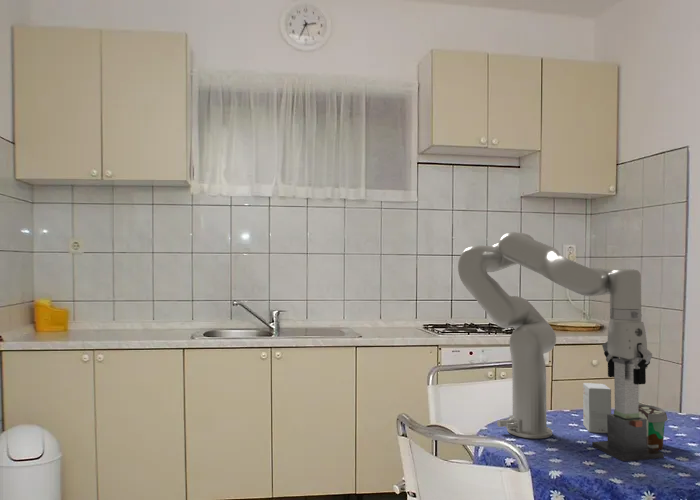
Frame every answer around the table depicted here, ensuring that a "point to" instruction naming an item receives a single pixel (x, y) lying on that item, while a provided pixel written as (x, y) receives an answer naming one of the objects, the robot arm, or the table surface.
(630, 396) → the column
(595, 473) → the table surface
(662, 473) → the table surface
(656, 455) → the stand
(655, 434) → the food container
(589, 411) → the small box
